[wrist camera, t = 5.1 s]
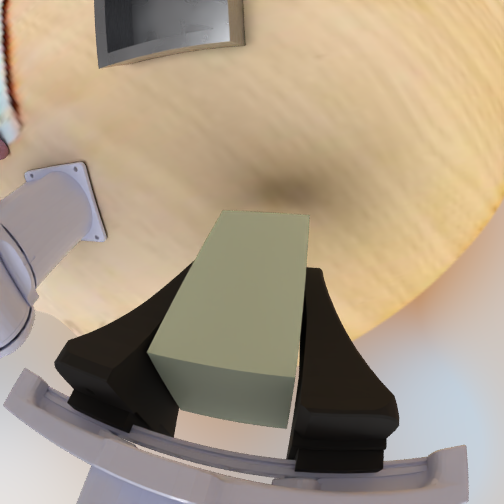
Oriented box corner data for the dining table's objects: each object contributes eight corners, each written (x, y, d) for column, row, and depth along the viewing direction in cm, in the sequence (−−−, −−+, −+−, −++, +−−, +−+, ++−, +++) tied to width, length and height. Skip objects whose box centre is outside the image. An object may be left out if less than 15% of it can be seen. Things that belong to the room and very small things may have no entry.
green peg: (230, 275, 16) (180, 409, 10) (222, 210, 14) (147, 352, 7) (304, 282, 15) (286, 428, 9) (309, 214, 13) (295, 377, 7)
